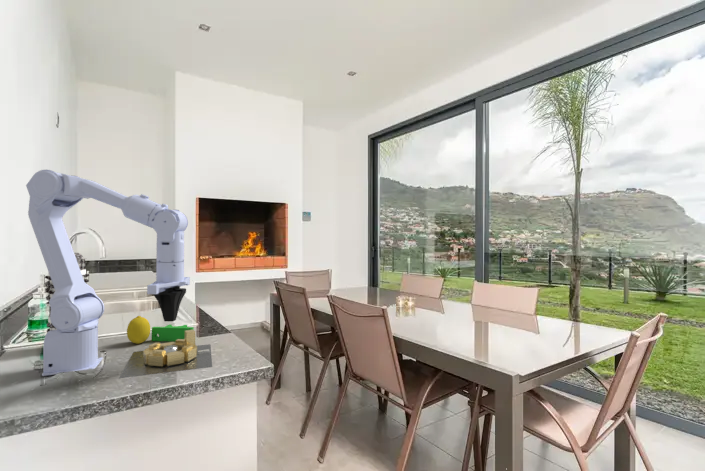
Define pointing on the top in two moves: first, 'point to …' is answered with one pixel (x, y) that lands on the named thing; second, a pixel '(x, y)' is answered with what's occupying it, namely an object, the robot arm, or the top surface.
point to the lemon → (138, 330)
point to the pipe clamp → (169, 332)
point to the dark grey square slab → (139, 367)
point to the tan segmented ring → (160, 358)
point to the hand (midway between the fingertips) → (170, 320)
